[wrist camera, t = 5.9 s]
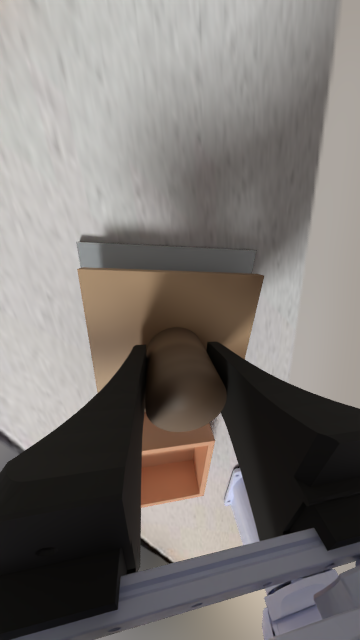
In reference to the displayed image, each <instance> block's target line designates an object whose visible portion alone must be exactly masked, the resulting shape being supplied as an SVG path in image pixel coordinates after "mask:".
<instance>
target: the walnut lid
mask: <svg viewBox="0 0 360 640" xmlns="http://www.w3.org/2000/svg"><path fill="white" fill-rule="evenodd" d="M77 270H78V276H79V282H80V288H81V294H82V300H83V306H84V312H85V319H86V325H87V331H88V337H89V343H90V349H91V355H92V361H93V367H94V373H95V379H96V386H97V392H99V391H100V390H101V389H102V388H103V387H104V386H105V385H106V384H107V383H108V382H109V381H110V380H111V378H112V377H113V376H114V375H115V373H116V372H117V371H118V370H119V368H120V367H121V366H122V364H123V363H124V361H125V360H126V358H127V357H128V355H129V354H130V352H131V350H132V348H133V347H134V346H135V345H146V354H147V364H146V396H145V412H146V414H147V417H148V419H149V420H150V421H151V422H152V423H153V424H154V425H155V426H157V427H158V428H160V429H163V430H166V431H170V432H186V431H191V430H195V429H198V428H200V427H203V426H205V425H206V424H208V423H210V422H211V421H212V420H214V419H215V418H216V417H217V416H218V415H219V414H220V412H221V411H222V409H223V408H224V405H225V403H226V398H227V392H226V388H225V386H224V384H223V382H222V380H221V378H220V376H219V374H218V372H217V371H216V369H215V367H214V365H213V363H212V361H211V359H210V358H209V356H208V354H207V352H206V349H207V342H216V341H217V342H219V343H221V344H222V345H224V346H225V347H227V348H228V349H230V350H231V351H233V352H234V353H235V354H237V355H238V356H240V357H241V358H243V359H245V355H246V351H247V347H248V342H249V338H250V334H251V330H252V325H253V321H254V317H255V313H256V308H257V304H258V300H259V296H260V292H261V287H262V283H263V279H264V276H263V275H260V274H252V273H224V272H197V271H170V270H143V269H115V268H88V267H83V268H80V269H77Z"/></svg>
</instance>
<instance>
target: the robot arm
mask: <svg viewBox="0 0 360 640" xmlns="http://www.w3.org/2000/svg"><path fill="white" fill-rule="evenodd" d="M206 352H207V354H208V356H209V358H210V359H211V361H212V363H213V365H214V367H215V369H216V371H217V372H218V374H219V376H220V378H221V380H222V382H223V384H224V386H225V388H226V392H227V398H226V403H225V405H224V408H223V409H222V411H221V414H222V416H223V419H224V421H225V424H226V426H227V429H228V432H229V435H230V438H231V441H232V444H233V447H234V451H235V454H236V457H237V460H238V464H239V467H240V468H237V469H235V470H234V471H233V474H232V477H231V480H230V484H229V487H228V490H227V493H226V497H225V500H224V505H225V506H229V505H231V507H232V511H233V514H234V517H235V520H236V524H237V527H238V530H239V533H240V537H241V540H242V543H243V546H239V547H235V548H231V549H227V550H223V551H219V552H215V553H211V554H207V555H203V556H199V557H195V558H191V559H187V560H183V561H179V562H175V563H171V564H167V565H164V566H159V567H155V568H152V569H147V570H144V571H139V572H138V570H139V568H140V534H141V473H142V434H143V423H144V414H145V396H146V364H147V354H146V345H135V346H134V347H133V348H132V350H131V352H130V354H129V355H128V357H127V358H126V360H125V361H124V363H123V364H122V366H121V367H120V368H119V370H118V371H117V372H116V373H115V375H114V376H113V377H112V378H111V380H110V381H109V382H108V383H107V384H106V385H105V386H104V387H103V388H102V389H101V390H100V391H99V392H98V394H97V395H96V396H94V397H93V398H92V399H91V400H90V401H89V402H88V403H87V404H86V405H85V406H84V407H83V408H81V409H80V410H79V411H78V412H77V413H76V414H74V415H73V416H72V417H71V418H69V419H68V420H67V421H66V422H64V423H63V424H62V425H61V426H59V427H58V428H57V429H55V430H54V431H53V432H51V433H50V434H48V435H47V436H46V437H44V438H43V439H41V440H40V441H38V442H37V443H36V444H34V445H33V446H31V447H30V448H28V449H27V450H25V451H24V452H22V453H21V454H19V455H18V456H17V457H15V458H14V459H12V460H10V461H9V462H8V463H7V464H6V465H5V467H4V468H3V470H2V471H1V472H0V640H95V639H98V638H101V637H104V636H108V635H111V634H114V633H118V632H121V631H124V630H127V629H131V628H135V627H138V626H141V625H145V624H148V623H151V622H154V621H158V620H161V619H164V618H168V617H171V616H174V615H178V614H181V613H184V612H188V611H191V610H194V609H198V608H201V607H204V606H208V605H211V604H214V603H218V602H221V601H224V600H228V599H231V598H234V597H238V596H241V595H244V594H247V593H251V592H254V591H258V590H261V589H265V591H266V593H267V596H266V597H265V598H264V599H265V602H266V605H267V608H264V610H263V620H262V629H263V636H264V640H360V409H358V408H355V407H352V406H348V405H345V404H342V403H339V402H335V401H332V400H330V399H327V398H324V397H321V396H318V395H316V394H313V393H310V392H308V391H305V390H303V389H301V388H298V387H296V386H294V385H291V384H289V383H287V382H285V381H282V380H280V379H278V378H276V377H274V376H272V375H270V374H268V373H267V372H265V371H263V370H261V369H259V368H258V367H256V366H254V365H253V364H251V363H249V362H248V361H246V360H245V359H243V358H241V357H240V356H238V355H237V354H235V353H234V352H233V351H231V350H230V349H228V348H227V347H225V346H224V345H222V344H221V343H219V342H217V341H216V342H207V349H206ZM354 561H356V567H355V568H352V569H350V570H348V571H346V572H343V573H341V574H340V575H339V576H338V574H337V572H336V570H335V569H332V568H334V567H338V566H341V565H344V564H348V563H351V562H354Z"/></svg>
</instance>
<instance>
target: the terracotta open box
mask: <svg viewBox="0 0 360 640" xmlns="http://www.w3.org/2000/svg"><path fill="white" fill-rule="evenodd" d="M214 443H215V439H214V436H213V433H212V430H211V427H210V424H209V423H208V424H206V425H205V426H203V427H200V428H198V429H195V430H191V431H186V432H170V431H166V430H163V429H160V428H158V427H157V426H155V425H154V424H153V423H152V422H151V421H150V420H149V419H148V417H147V414H146V412H145V414H144V423H143V434H142V473H141V508H142V507H148V506H153V505H158V504H163V503H168V502H173V501H179V500H184V499H189V498H194V497H199V496H204V492H205V487H206V482H207V477H208V472H209V467H210V463H211V458H212V453H213V448H214Z"/></svg>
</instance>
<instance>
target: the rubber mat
mask: <svg viewBox="0 0 360 640" xmlns="http://www.w3.org/2000/svg"><path fill="white" fill-rule="evenodd" d="M76 243H77V249H78V254H79V260H80V266H81V268H83V267H88V268H115V269H143V270H170V271H197V272H224V273H252V269H253V265H254V260H255V255H256V251H257V250H240V249H219V248H198V247H177V246H156V245H135V244H114V243H93V242H76Z"/></svg>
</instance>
